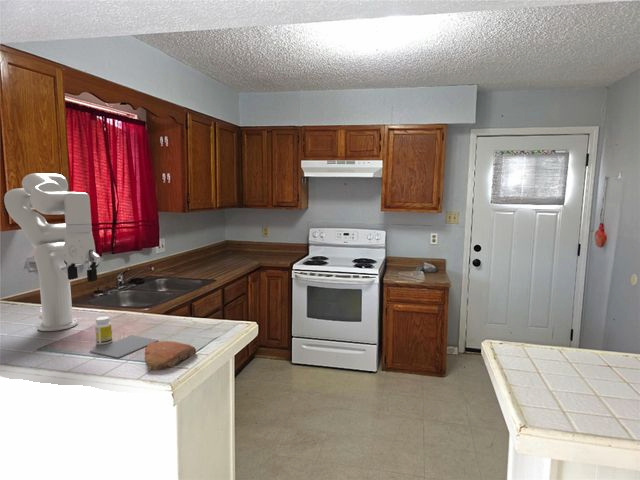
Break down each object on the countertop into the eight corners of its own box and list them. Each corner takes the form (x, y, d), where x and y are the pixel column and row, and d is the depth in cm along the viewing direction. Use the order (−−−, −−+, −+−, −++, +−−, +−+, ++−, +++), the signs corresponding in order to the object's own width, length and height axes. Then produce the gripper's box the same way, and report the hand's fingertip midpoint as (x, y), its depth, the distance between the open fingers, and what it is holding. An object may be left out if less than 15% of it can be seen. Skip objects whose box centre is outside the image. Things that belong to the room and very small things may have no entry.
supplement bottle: (115, 340, 142) (113, 316, 141) (106, 345, 137) (105, 320, 136) (102, 339, 142) (100, 315, 141) (93, 344, 138) (91, 320, 137)
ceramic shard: (122, 350, 119) (156, 340, 134) (123, 373, 119) (157, 360, 133) (166, 348, 115) (196, 338, 130) (168, 371, 115) (198, 359, 129)
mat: (89, 352, 131) (89, 350, 131) (131, 336, 145) (131, 335, 145) (118, 358, 126) (118, 357, 126) (158, 341, 140) (158, 340, 140)
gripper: (50, 229, 139) (55, 280, 141) (86, 231, 132) (90, 284, 134) (72, 228, 146) (75, 276, 148) (107, 229, 139) (110, 279, 141)
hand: (82, 279), depth 141 cm, fingers open, 9 cm apart
